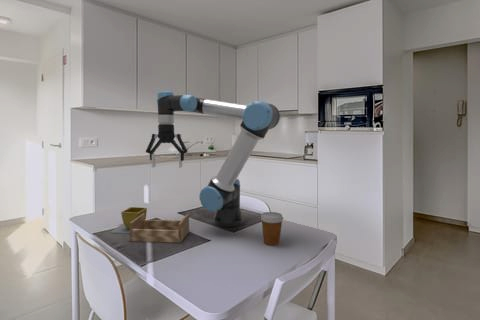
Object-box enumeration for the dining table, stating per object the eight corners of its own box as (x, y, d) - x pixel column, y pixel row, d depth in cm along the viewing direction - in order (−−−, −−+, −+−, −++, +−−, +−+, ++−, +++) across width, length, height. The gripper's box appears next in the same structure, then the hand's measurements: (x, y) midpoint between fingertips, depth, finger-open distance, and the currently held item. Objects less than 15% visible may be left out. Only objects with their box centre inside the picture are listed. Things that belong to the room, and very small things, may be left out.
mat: (148, 224, 146) (148, 223, 146) (137, 234, 133) (137, 233, 133) (123, 224, 147) (123, 223, 147) (109, 233, 134) (109, 232, 134)
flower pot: (138, 231, 135) (138, 212, 134) (121, 230, 136) (120, 211, 135) (147, 225, 143) (147, 207, 142) (131, 224, 145) (130, 206, 144)
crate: (189, 231, 137) (188, 214, 136) (180, 242, 123) (180, 224, 122) (143, 229, 138) (142, 213, 138) (130, 241, 124) (129, 222, 124)
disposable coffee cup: (277, 248, 117) (277, 219, 115) (256, 243, 122) (256, 215, 120) (286, 241, 125) (286, 213, 123) (266, 236, 130) (266, 210, 128)
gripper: (193, 124, 145) (193, 166, 147) (144, 124, 147) (145, 165, 149) (189, 123, 138) (190, 168, 140) (138, 123, 140) (139, 167, 142)
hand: (167, 167), depth 145 cm, fingers open, 13 cm apart
